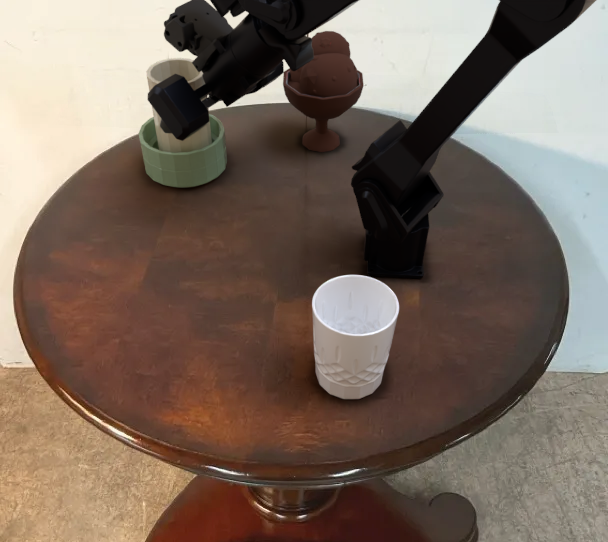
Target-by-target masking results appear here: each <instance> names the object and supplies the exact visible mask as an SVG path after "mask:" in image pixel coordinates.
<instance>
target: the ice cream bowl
mask: <svg viewBox="0 0 608 542" xmlns="http://www.w3.org/2000/svg"><path fill="white" fill-rule="evenodd" d="M311 38H312V48H313V52H314V59H313V60H311V61H310V62H308V63H307V64H305V65H304V66H302V67H301V68H299V69H298V70H296V71H292V70H291V69H290V68H288V69H285V70H284V73H283V76H282V86H283V91H284V95H285V97H286V99H287V101H288V103H289V104H290V105H291V106H293V107H294V108H295V109H296V110H298V112H300V113H302V114H303V115H304V116H305V117H306V118H307V117H308V118H309V119H312V120H315V128H312V129H309V130H308V131H306V132H305V133H304V134H303V135H302V146H304V147H305V148H306V149H308V150H309V151H312V152H319V153H324V152H330V151H331V152H332V151H333V150H335V149H337V148H338V147H339V146H340V145H341V143H340V136H339V134H338V133H336V132H335V131H334V130H333V129H329V128H328V127H329V126H328V125H329V124H328V122H329V120H333V119H337V118H338V117H340V116H342V115H343V114H345V113H346V112H347V111H349V110H350V109H351V108H352V107H353V106H355V105H356V104H357V102H358V101H359V100H360V98H361V96H362V93H363V89H364V76H363V75H364V74H363V72H361V71H360V70H358V68H357V67H356V65H355V62H354V61H353V59H352V58H351V49H350V42H349V41H347V39H346V37H344V36H343V35H342V34H341V33H339V32H337V31H334V30H333V31H332V30H324V31H319V32H316V33H315V34H314V35H313V36H312V37H311Z"/></svg>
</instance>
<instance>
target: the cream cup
mask: <svg viewBox="0 0 608 542" xmlns="http://www.w3.org/2000/svg"><path fill="white" fill-rule="evenodd" d="M194 60H195V59H191V58H184V57H173V58H172V57H171V58H166V59H162V60H159V61H156V62H154V63H153V64H150V66H149V67H148V68H147V69H146V71H145V72H146V80H147V86H148V92H149V91H150V90H151V89H152V88H153V87H154V86H155V85H156V84H158V83H160V82H162V81H163V80H165V79H167V78H169V77H170V76H172V75H174V74H178V75H181V76H183V77H185V79H186V80H187V81H188V83H189V84H190V86H191V87H192V88H193V90H196V89H198V88H199V87H201V86H203V85H204V84H205V82H204V80H203V77H202V74H203V72H202V71H200V72H198V71H197V69H196V68H195V67H194V65H193V64H192V62H193V61H194ZM206 98H208V95H207V96H206V97H204V98H203V99H201V101H202V100H204V99H206ZM209 108H210V107H209ZM209 108H208V109H207V110H208V111H209V112H210V109H209ZM151 109H152V115H153V116H152V117H154V122H155V128H156V134H157V140H158V147H159V150H160V151H165V152H172V153H181V152H191V151H195V150H199V149H202V148H204V147H206V146H208V145H210V144H212V138H211V128H210V118H209V122H208V123H207V124H206V125H205V126H204V127H202V128H201V129H200V130H198V131H197V132H195V133H194V134H192V135H191V136H189V137H188V138H186V139H185V140H183V141H181V140H178V139H176V138H175V137H174V135H173V134H172V133H164V131H163V130H162V129H161V127H160V122H161V117H160V116H159V115H158V113H157V112H156V111H155V109H154V108H153V107H152V106H151Z"/></svg>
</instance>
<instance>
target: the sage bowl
mask: <svg viewBox="0 0 608 542" xmlns="http://www.w3.org/2000/svg"><path fill="white" fill-rule="evenodd" d="M209 118H210V128H211V138H212V144H210V145H208V146H206V147H204V148H202V149H199V150H195V151H191V152H181V153H172V152H165V151H160V150H159V147H158V140H157V134H156V128H155V122H154V116H152V117H150V118H149V119H147V120H146V121H145V122H144V123H142V124H141V126H140V129H139V131H138V138H139V143H140V148H141V154H142V161H143V166H144V169H145V173H146V175H147V176H149V178H150V179H151V180H153V181H154V182H156V183H158V184H161V185H163V186H165V187H166V186H168V187H172V188H194V187H198V186H203V185H205V184H208V183H210V182H212V181H213V180H215V179H217V178H218V177H220V176H221V174H223V173H224V171H225V170H226V166H227V165H228V164H227V163H228V154H227V144H226V143H227V142H226V132H225V130H226V129H225V127H224V124H223V122H222V121H221V120H220V119H219V118H218V117H216V116H215V115H213V114H211V113H209Z"/></svg>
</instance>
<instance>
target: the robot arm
mask: <svg viewBox="0 0 608 542" xmlns="http://www.w3.org/2000/svg"><path fill="white" fill-rule="evenodd" d="M209 1H210V3H211V4H212V5H213V6H212V5H211V4H210V3H209V2H208V1H207V0H189V1H186V2H184V3H182V4H181V5H179V6H177V7H175V9H174V12H172V13H170V14H169V16H168V19H166V20H165V21H163V26H164V30H163V37H164V40H165V42H167V43H169V44H170V45H171V46H172V47H173V48H174V49H175V50H177V52H179V53H182V52H185V51H186V50H187V51H188V52H189V53H190V54H191V55H192V56H195V59H193V60H194V61H193V62H192V64H193V65H194V67H195V68H196V69H197V71H198V72H200V71H202V72H203V74H202V77H203V80H204V82H205V84H204V85H203V86H201V87H199V88H198V89H196V90H193V88H192V87H191V86H190V84H189V83H188V81H187V80H186V79H185V77H183V76H181V75H178V74H174V75H172V76H170V77H169V78H167V79H165V80H163V81H162V82H160V83H158V84H156V85H155V86H154V87H153V88H152V89H151V90H150V91H149V90H148V92H147V102H148V103H149V104H150V105H151V108H152V107H153V108H154V109H155V111H156V112H157V113H158V115H159V116H160V117H161V122H160V127H161V129H162V130H163V131H164V133H172V134H173V135H174V137H175V138H176V139H178V140H181V141H183V140H185V139H186V138H188V137H189V136H191V135H192V134H194V133H195V132H197V131H198V130H200V129H201V128H202V127H204V126H205V125H206V124H207V123H208V122H209V114H210V110H209V111H208V110H207V109H208V108H211V107H212V106H214V105H216V104H217V103H219V102H223V104H224V106H225V107H226V108H228V107H229V106H231V105H232V104H234V103H236V102H237V101H238V100H240V99H242V98H243V97H245V96H247V95H250V94H256V93H257V92H259V91H260V90H261V89H264V88H265V87H267V86H268V85H270V84H271V83H273V82H274V81H276V80H277V79H279V77H280V76H281V75H284V71H285V69H284V67H285V66H284V62H286V65H287V66H288V67H289V68H290V69H291V70H292V71H296V70H298V69H299V68H301V67H302V66H304V65H305V64H307V63H308V62H310V61H311V60H313V59H314V52H313V48H312V37H310V36H307V35H309V34H310V33H312V32H314V31H315V30H317V29H319V28H321V27H322V26H324V25H325V24H327V23H328V22H330V21H332V20H333V19H335V18H337V17H338V16H339V15H341V14H342V13H344V12H345V11H346V10H348V9H349V8H351V7H352V6H354V5H355V4H357V3H358V2H360V0H209ZM498 1H499V2H498V4H497V5H496V8H495V12H494V14H493V16H492V19H491V21H490V24H489V27H488V30H487V31H486V33H485V35H484V36H482V38H481V40H480V41H479V42H478V43H477V44H476V45H475V47H473V48H472V50H471V52H470V53H469V54H468V55H467V56H466V57H465V59H464V60H463V61H462V63H460V65H459V66H458V67H457V68H456V69H455V70H454V72H453V73H452V75H450V77H449V78H448V79H447V80H446V81H445V82H444V84H443V85H442V87H440V89H438V91H437V93H436V94H435V95H434V96H433V97H432V98H431V99H430V101H429V102H428V103H427V104H426V106H425V107H424V108H423V109H422V110H421V111H420V113H419V114H418V115H417V117H416V118H415V119H414V120H413V122H411V124H410V125H409V126H408V127H407V126H405V124H404V123H403V121H402V120H401V119H398V120H397V121H396V122H395V123H394V124H393V125H391V126H390V127H389V128H387V130H385V131H384V132H383V133H382V134H381V135H379V137H377V138H376V139H375V140H374V141H373V142H371V143H370V144H369V146H368V147H367V148H366V151H365V153H364V155H363V157H361V158H360V159H359V160H357V162H355V163H354V164H353V165H352V166H351V169H352V170H353V171H356V172H354V174H353V175H352V178H351V181H350V185H351V188H352V191H353V194H354V196H355V199H356V204H357V207H358V211H359V215H360V219H361V223H362V228H363V229H364V242H363V260H364V262H367V263H366V266H367V267H366V268H367V269H366V271H367V272H366V274H367V275H368V276H369V277H371V276H372V277H388V278H389V277H390V278H405V279H406V278H407V279H409V278H410V279H422V278H424V277H425V266H424V265H425V264H424V259H425V254H426V248H427V242H428V236H429V232H430V219H429V214H430V212H431V211H432V210H433V209H435V208H436V207H437V206H438V205H439V204H440V201H441V200H442V199H443V197H444V192H443V190H442V189H441V186H440V185H439V183H438V182H437V181H436V179H435V178H434V176H433V175H432V173H431V170H432V168H433V167H434V165H435V164H436V162H437V159H438V156H439V153H440V151H441V149H442V148H443V146H444V145H445V144H446V143H447V142H448V141H449V139H450V138H451V137H452V136H453V135H454V134H455V133H456V132H457V131H458V130H459V129H460V128H461V126H463V124H464V123H466V121H467V120H468V119H469V118H470V117H471V116H472V115H473V114H474V112H475V111H476V110H477V109H478V108H479V107H480V106H481V105H482V104H483V103H484V102H485V101H486V100H487V98H489V97H490V96H491V94H492V93H493V92H494V91H495V90H496V89H497V88H498V87H499V86H500V84H501V83H503V81H504V80H505V79H506V78H507V77H508V76H509V75H510V74H511V73H512V71H514V69H515V68H516V67H517V66H518V65H519V64H520V63H521V62H522V61H523V60H524V59H526V58H527V57H529V56H530V55H532V54H533V53H535V52H536V51H538V50H539V49H541V48H542V47H543V46H545V45H546V44H547V43H549V42H550V41H551V40H553V39H554V38H555V37H557V36H558V35H560V34H561V33H562V32H563V31H565V30H566V29H568V28H569V27H570V26H571V25H573V24H574V22H575V21H577V19H579V18H580V17H581V16H582V14H584V13H585V12H586V11H587V10H588V9H589V8H591V6H592V5H594V4H595V2H597V0H498ZM245 12H246V13H247V14H246V16H245V17H244V18H243V19H242V20H241V21H240V22H239V23H238V24H237V25H236V26H235V27H234V28H233V27H232V25H231V24H230V23H229V22H228V20H227V18H226V17H225V16H226V15H227V14H230V15H231V16H232V18H236V17H239V16H240V15H242V14H243V13H245ZM289 68H288V69H289ZM206 96H207V98H206V99H204V100H202V101H201V99H203V98H204V97H206Z"/></svg>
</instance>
